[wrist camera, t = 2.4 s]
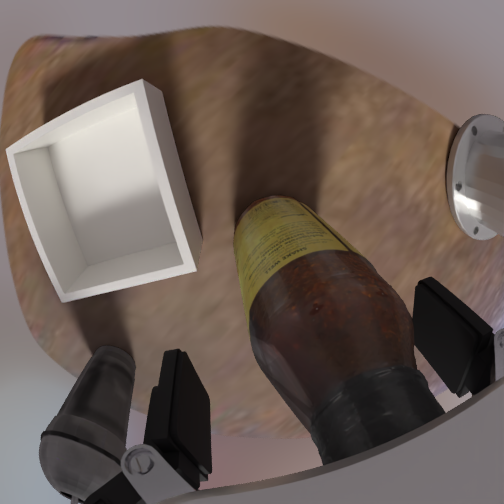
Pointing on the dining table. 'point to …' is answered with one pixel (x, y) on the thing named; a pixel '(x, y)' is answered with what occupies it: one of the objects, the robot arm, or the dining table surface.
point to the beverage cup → (90, 427)
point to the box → (107, 195)
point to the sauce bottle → (328, 330)
